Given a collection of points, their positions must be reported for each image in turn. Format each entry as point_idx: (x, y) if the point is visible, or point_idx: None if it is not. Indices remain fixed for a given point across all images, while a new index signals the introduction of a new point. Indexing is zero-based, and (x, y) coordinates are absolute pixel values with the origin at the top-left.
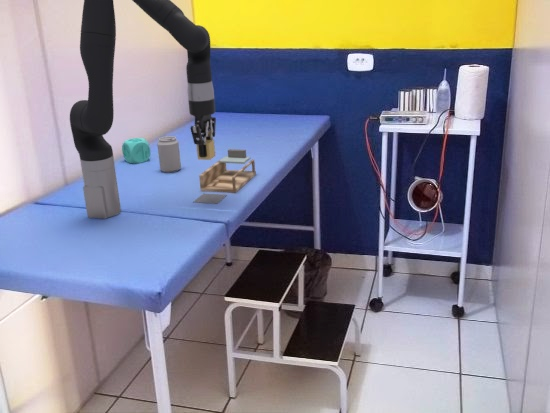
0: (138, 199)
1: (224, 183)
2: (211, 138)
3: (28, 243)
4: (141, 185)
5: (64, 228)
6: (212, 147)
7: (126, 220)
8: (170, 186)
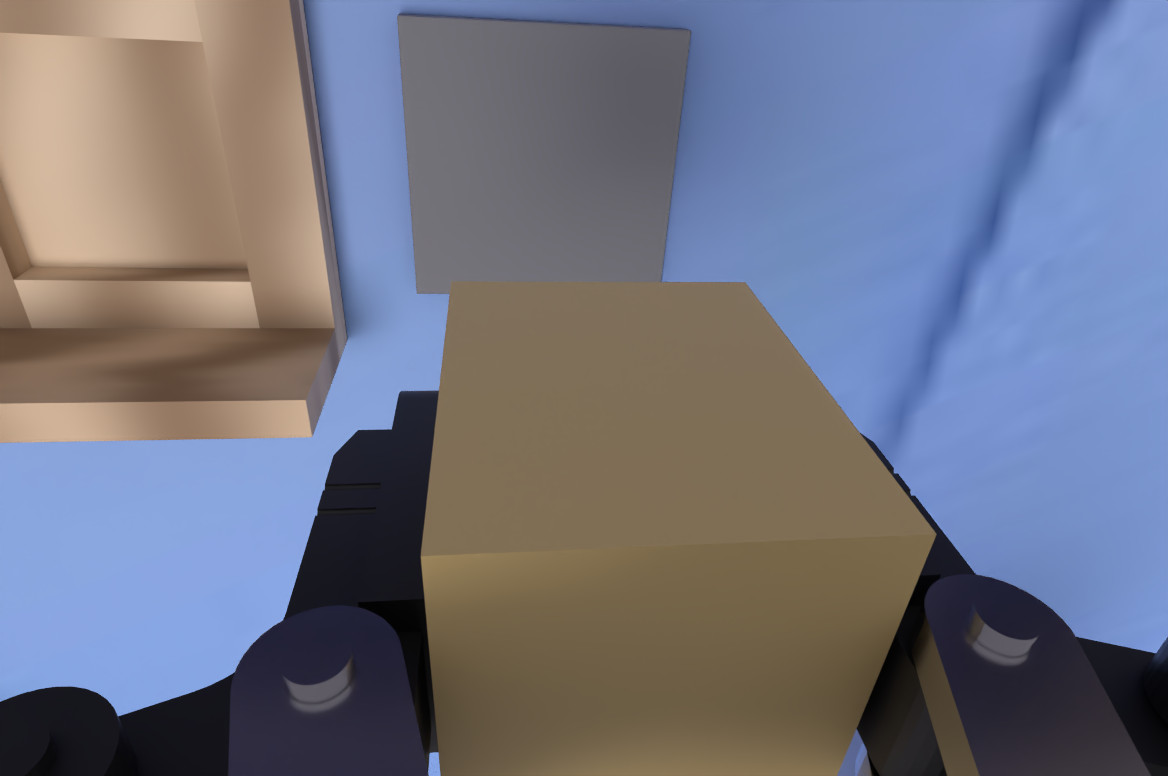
0: None
1: (19, 195)
2: (397, 678)
3: None
4: None
5: None
6: (608, 407)
7: None
8: (282, 603)
